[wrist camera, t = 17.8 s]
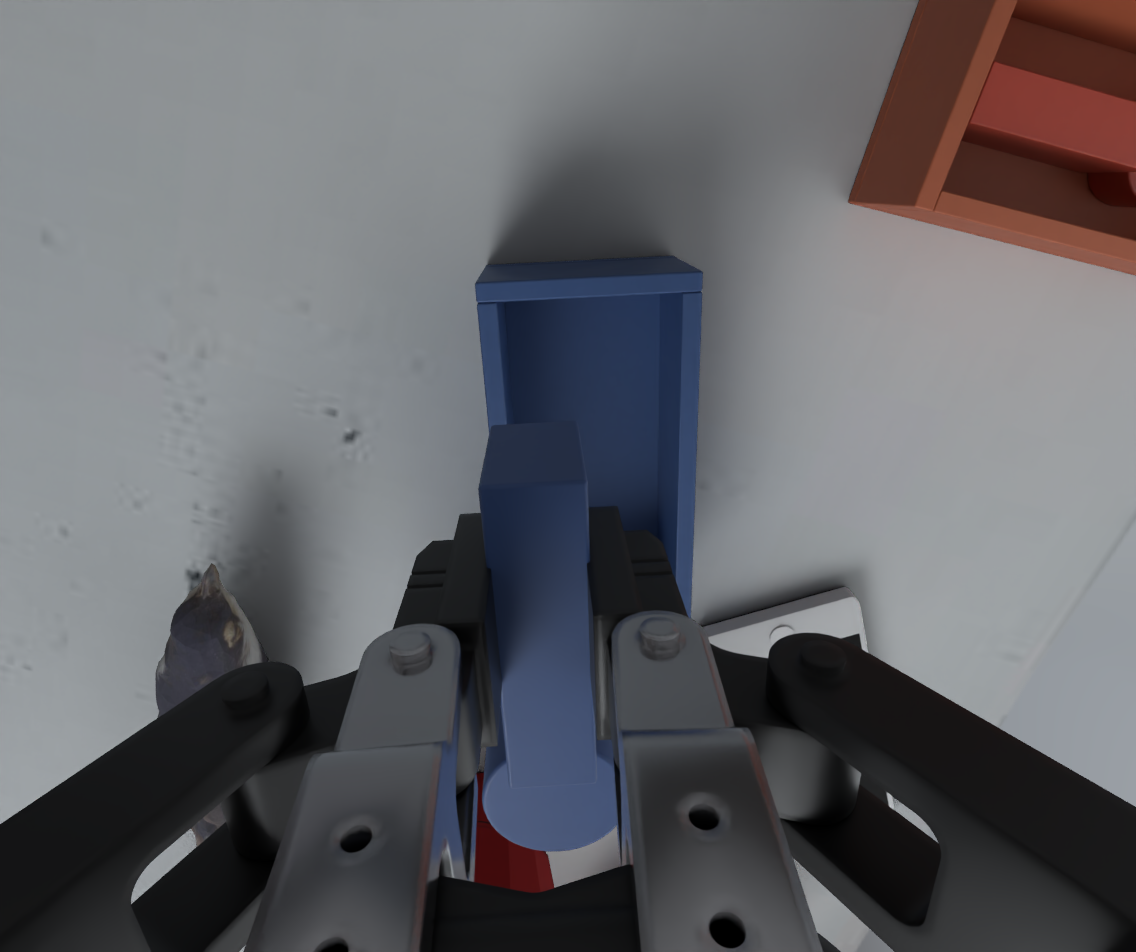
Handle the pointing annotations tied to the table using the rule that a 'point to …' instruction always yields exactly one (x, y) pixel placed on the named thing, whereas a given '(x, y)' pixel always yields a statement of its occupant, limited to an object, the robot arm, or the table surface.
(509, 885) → the plastic cup
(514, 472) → the blue spoon
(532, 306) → the blue bin
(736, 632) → the smartphone
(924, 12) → the orange bin
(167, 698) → the bird model
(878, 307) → the table surface
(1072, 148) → the red spoon
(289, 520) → the table surface
